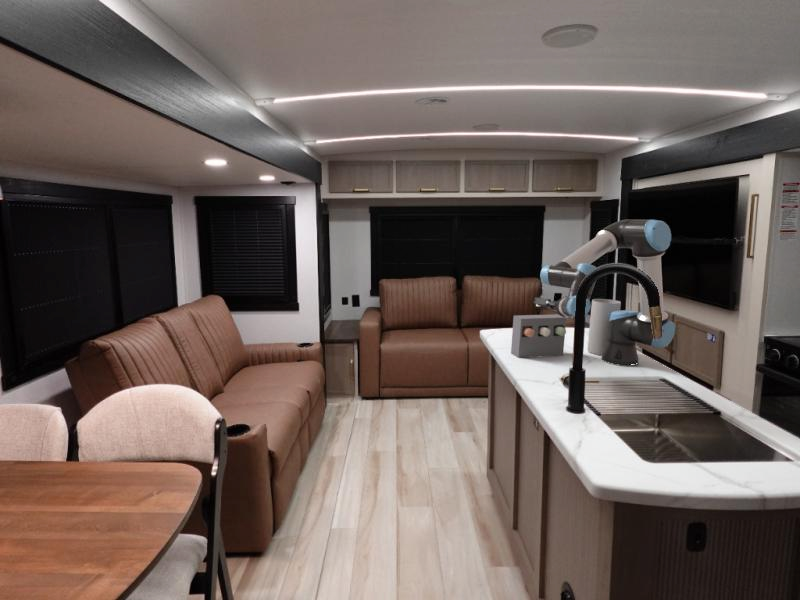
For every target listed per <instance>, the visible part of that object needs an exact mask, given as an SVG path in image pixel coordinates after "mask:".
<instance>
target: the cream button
mask: <svg viewBox="0 0 800 600" xmlns="http://www.w3.org/2000/svg"><path fill="white" fill-rule="evenodd" d="M538 333H539V334H541V335H543V336H545V337H547V336H549V335H550V329H548V328H546V327H543V326H542V327H540V328H539V329H538Z"/></svg>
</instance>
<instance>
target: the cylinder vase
mask: <svg viewBox="0 0 800 600" xmlns="http://www.w3.org/2000/svg"><path fill="white" fill-rule="evenodd" d="M621 304H622V303H621V300H615V299H607V298H593V299H592V300H591V308H590V317H589V318H590V320H589V330H588V341H587V351H588V353H590V354H592V353H593V355H596V354H597V355H596V356H601V355H602V353H603V352H604V350H605V347H606V345H607V342H608V332H609V322H610V321H609V320H610V315H611V313H612V312H614V311H621V306H622V305H621Z"/></svg>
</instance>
